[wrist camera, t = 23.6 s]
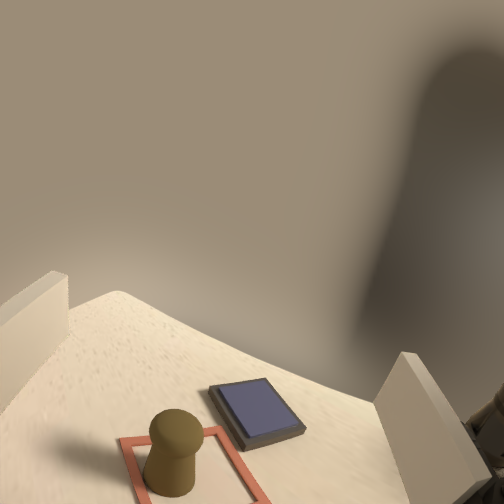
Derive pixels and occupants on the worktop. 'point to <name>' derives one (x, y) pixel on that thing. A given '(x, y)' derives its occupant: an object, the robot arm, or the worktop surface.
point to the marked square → (246, 475)
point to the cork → (173, 452)
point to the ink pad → (255, 413)
